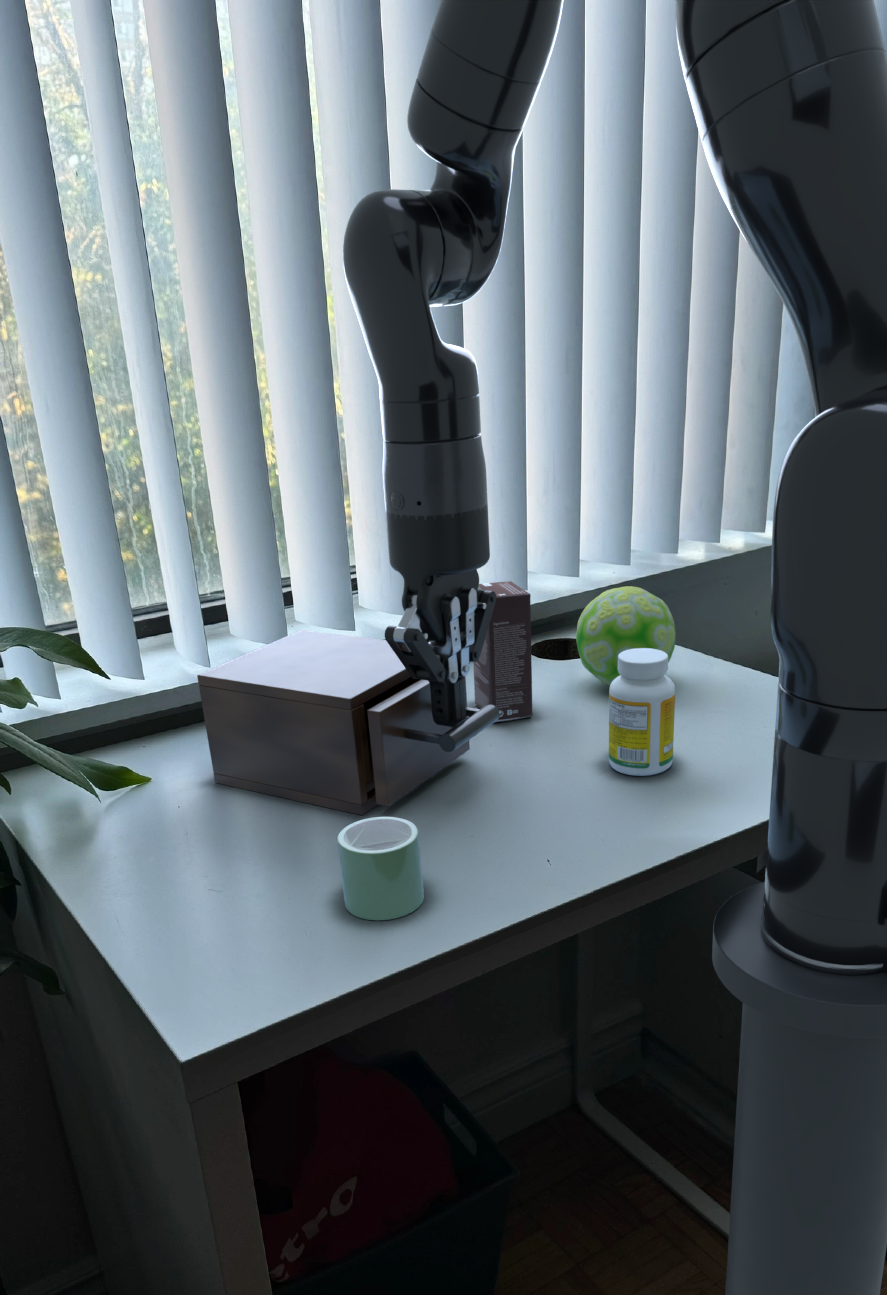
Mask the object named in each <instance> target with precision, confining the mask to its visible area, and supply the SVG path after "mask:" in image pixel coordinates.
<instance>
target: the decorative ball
mask: <svg viewBox="0 0 887 1295" xmlns="http://www.w3.org/2000/svg"><path fill="white" fill-rule="evenodd" d="M576 625H577V626H576V634H575V641H576V647H577V651H578V655H579V657H580V661H581V662H580V663H581V664H582V666H583V667H584V669H585V670H586V671H588V672H589V673H591V675H592V676H594V677H595V679H597V680H598V681H600V682H601V683H603V684H606V686H607V685H608V686H610V685H611V683H612V681H613V680H614V679H615V678H617V677H618V676H620V674H619V672H618V669H617V668H618V655H619V654H620V653H621V652H623V651H626V650H630V649H636V648H651V649H657V650H661V651H663V652H665V653H666V654H667V655H668V663H670V660H671V658H672V656H673V653H674V652H675V647H676V638H677V631H676V625H675V620H674V617H673V614H672V613H671V610H670V608H669V606H668V605H667V603H665V601H664V600H663V599H662V598H659V597H658V596H656V595H655V594H653V593H651V592H649V591H648V590H646V589H644V588H642V587H637V586H631V585H630V586H629V585H628V586H620V587H615V588H611V589H607V590H605V591H603V592H601V593H600V594H599V595H597V596H596V597H595V598H594V599H592V600H591V601H590V602H589V603H588V604H587V605H586V606H585V607H584V609H583V610H582V612H581V614H580V615H579V618H578V621H577V624H576Z"/></svg>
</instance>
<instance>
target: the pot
mask: <svg viewBox="0 0 887 1295" xmlns="http://www.w3.org/2000/svg"><path fill="white" fill-rule="evenodd" d="M336 842H337V851H338V859H339V868H340V875H341V883H342V891H343V901H344V906H345V909H346V910H347V912H349V913H350V914H351V915H353V916H355V917H356V918H360V919H362V920H369V921H390V920H395V919H399V918H402V917H405V916H408V915H410V914H412V913H413V912H414V911H416V910H417V909H419V908H420V907H421V905H422V904H423V902H424V899H425V890H424V878H423V876H424V875H423V865H422V854H421V842H420V831H419V828H418V826H417V825H416V824H415V823H413V822H412V821H410V820H408V819H405V818H401V817H396V816H375V817H368V818H364V819H360V820H357V821H355V822H352V823H350V824H348V825H346V826H344V828H343V829H341V830H340V831H339V833H338V835H337V837H336Z"/></svg>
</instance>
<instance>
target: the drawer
mask: <svg viewBox="0 0 887 1295" xmlns="http://www.w3.org/2000/svg"><path fill="white" fill-rule="evenodd" d="M466 677H467V676H464V684H465V702H466V707H465V708H466V719H465V720H464V721H462V722H461V723H459V724H458V725H456V726H455V727H448V726H442V725H437V724H436V723H435V722H434V720H433V716H432V706H431V703H432V702H431V692H430V683H429V681H427V680H421V679H414V678H412V677H409V678H407V679H406V680H404V681H402V682H400V683H398V684H397V685H395V686H393V687H391V688H389V689H388V690H386V691H384V692H382V693H380V694H379V695H377V696H375V697H373V698H371V699H370V700H368V701H366V702H364V703H362V704H361V705H359V706H357V707H358V714H359V724H360V733H361V743H362V752H363V762H364V771H365V781H366V790H367V792H369V791H370V790H372V789H373V788H375V793H376V803H377V804H378V805H381V806H385V807H390V806H391V805H392V804H394V803H395V802H397V801H398V800H400V799H401V798H402V797H404V796H405V795H407V794H408V793H409V792H410V793H411V791H412V790H414V789H415V788H417V787H418V786H420V785H421V784H423V783H424V782H425V781H427V780H429V778H431V777H432V776H434V775H435V774H437V773H438V772H440V771H441V770H442V769H444V768H445V767H447V766H448V765H449V764H451V763H453V762H454V761H455V760H456V759H458V758H459V757H461V756H463V755H464V754H465V753H466V752H468V751H470V749H471V744H470V740H471V739H473V738H474V737H475V736H477V735H478V734H480V733H481V732H483V731H485V730H486V729H487V728H489V727H490V726H492V725H493V724H494V723H497V722H496V721H497V720H498V719H499V715H500V714H499V710H498V709H497V708H496V707H495V706H494V705H487V706H485V707H483V708H482V709H480V708H475V707H469V706H468V696H467V680H466Z"/></svg>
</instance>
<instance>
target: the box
mask: <svg viewBox="0 0 887 1295" xmlns="http://www.w3.org/2000/svg"><path fill="white" fill-rule="evenodd" d="M479 586H480V587H481V588H482V589H483V590H486V591H494V592H495V593H496V603H495V606H494V609H493V613H492V616H491V620H490V623H489V627H488V630H487V634H486V637H485V641H484V644H483V647H482V651H481V654H480V658H479V660H478V661H477V662H473V690H474V704H475V705H476V706H477V707H478V709H482V708H483V707H485V706H487V705H494V706H495V707H496V708H497V709H498V710H499V714H500V715H499V719H498V720H497V721H496V722H495V723H503V722H508V721H509V722H511V721H515V720H520V719H525V718H530V717H533V672H532V671H533V668H532V667H533V666H532V621H531V620H532V619H531V618H532V616H531V612H532V609H531V608H532V607H531V597H532V596H531V593H529V592H528V591H527V590H525V589H523V588H522V587H520V586H519V585H518V584H516V583H514V582H513V581H511V580H509V581H497V582H495V581H494V582H485V583H479Z"/></svg>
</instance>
